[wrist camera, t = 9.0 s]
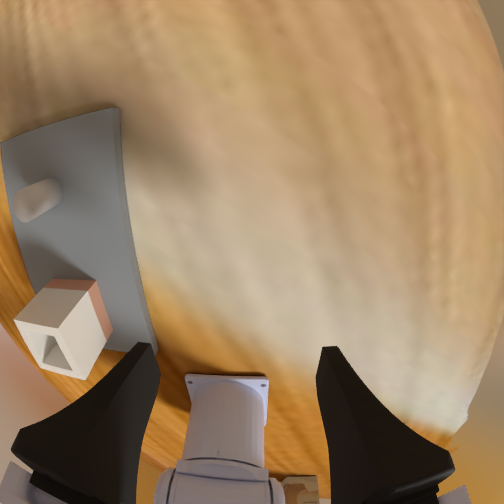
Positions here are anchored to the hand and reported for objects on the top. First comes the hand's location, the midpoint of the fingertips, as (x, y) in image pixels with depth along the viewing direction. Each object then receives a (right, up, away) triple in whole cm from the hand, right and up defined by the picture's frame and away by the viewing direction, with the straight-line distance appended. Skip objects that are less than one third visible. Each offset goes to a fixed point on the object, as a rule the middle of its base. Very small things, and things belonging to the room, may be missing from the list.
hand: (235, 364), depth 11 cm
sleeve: (-14, 0, +10) cm, 17 cm away
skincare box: (+9, -38, +29) cm, 49 cm away
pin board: (-14, +5, +8) cm, 17 cm away
